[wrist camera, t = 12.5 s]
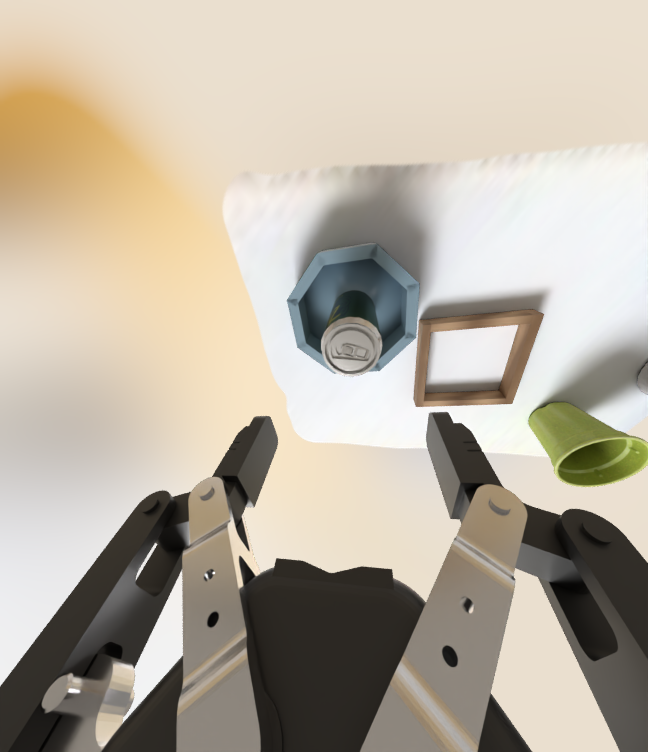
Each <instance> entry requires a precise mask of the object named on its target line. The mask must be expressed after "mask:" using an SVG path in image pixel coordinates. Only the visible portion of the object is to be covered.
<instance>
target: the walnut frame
mask: <svg viewBox="0 0 648 752" xmlns="http://www.w3.org/2000/svg"><path fill="white" fill-rule="evenodd" d="M543 316H544V314H543V313H540V312H538V311H536V310H533V309H529V310H519V311H509V312H498V313H488V314H478V315H467V316H457V317H446V318H436V319H426V320H419V330H418V344H417V357H416V371H415V385H414V402H415V405H416V407H429V406H460V405H492V404H512V403H513V400H514V397H515V394H516V392H517V389H518V386H519V383H520V380H521V378H522V375H523V372H524V369H525V366H526V364H527V361H528V358H529V355H530V352H531V350H532V347H533V344H534V341H535V338H536V336H537V333H538V330H539V327H540V324H541V322H542V319H543ZM508 325H519V326H518V329H517V332H516V336H515V339H514V342H513V345H512V349H511V352H510V355H509V358H508V362H507V365H506V368H505V372H504V375H503V378H502V381H501V385H500V388H499V390H495V391H471V392H447V393H425V383H426V374H427V364H428V354H429V344H430V334H431V332H439V331H450V330H462V329H473V328H485V327H496V326H508Z"/></svg>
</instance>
